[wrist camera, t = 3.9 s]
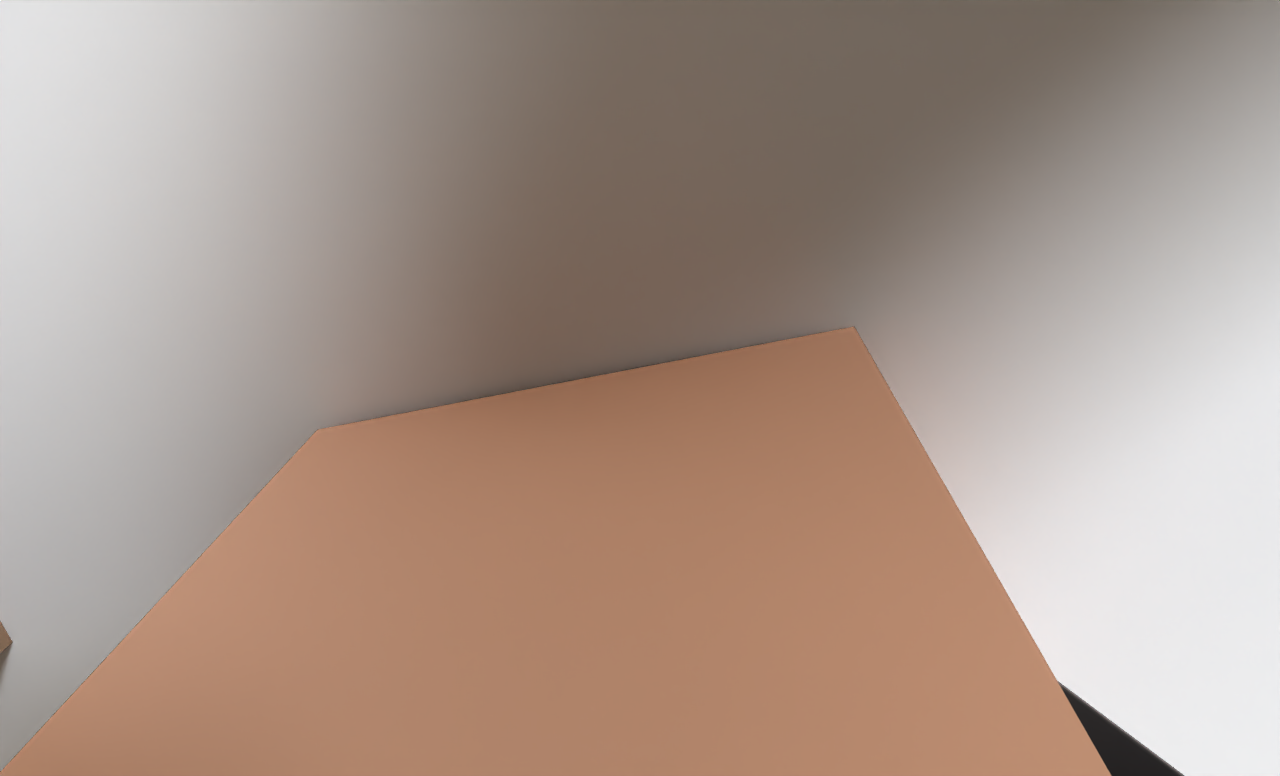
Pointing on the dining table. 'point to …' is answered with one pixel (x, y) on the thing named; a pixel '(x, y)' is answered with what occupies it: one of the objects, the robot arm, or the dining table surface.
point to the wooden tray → (4, 638)
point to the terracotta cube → (592, 599)
